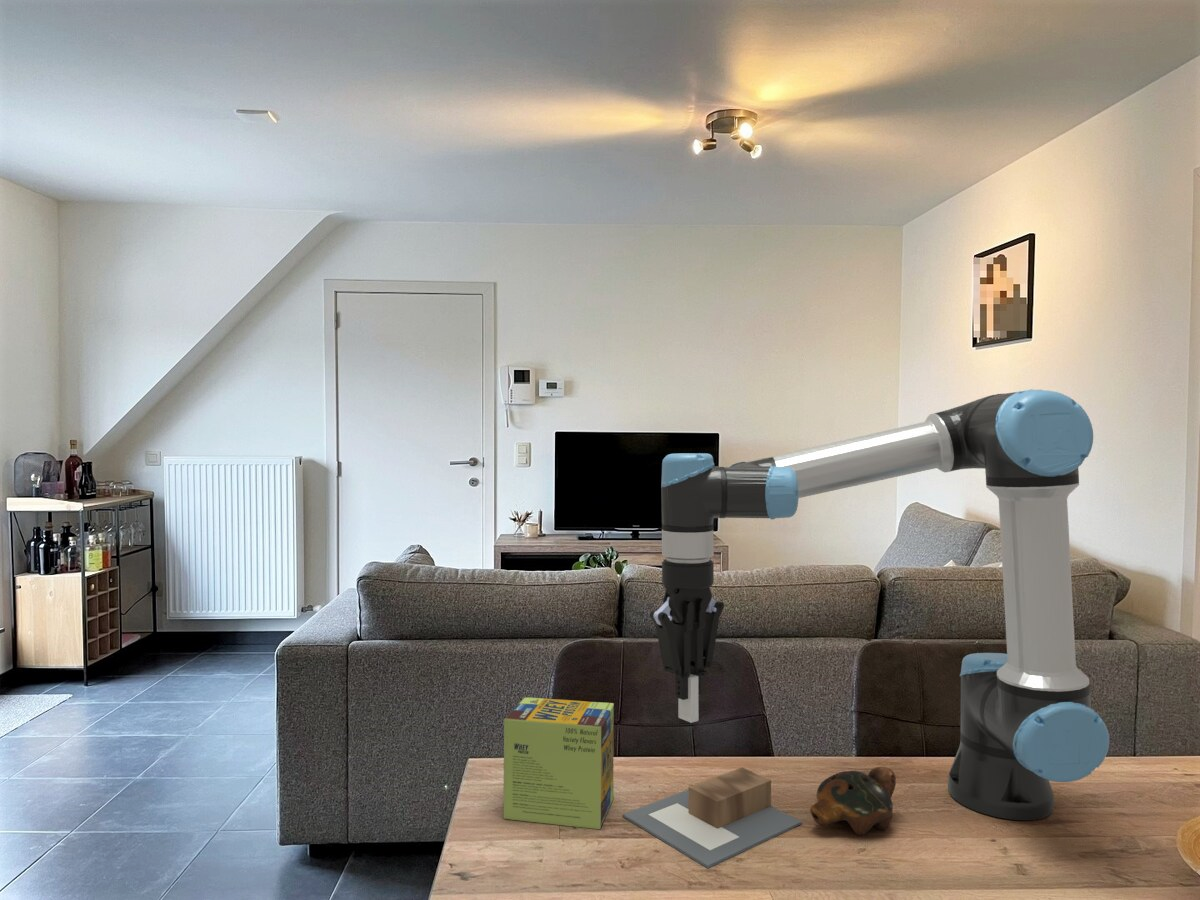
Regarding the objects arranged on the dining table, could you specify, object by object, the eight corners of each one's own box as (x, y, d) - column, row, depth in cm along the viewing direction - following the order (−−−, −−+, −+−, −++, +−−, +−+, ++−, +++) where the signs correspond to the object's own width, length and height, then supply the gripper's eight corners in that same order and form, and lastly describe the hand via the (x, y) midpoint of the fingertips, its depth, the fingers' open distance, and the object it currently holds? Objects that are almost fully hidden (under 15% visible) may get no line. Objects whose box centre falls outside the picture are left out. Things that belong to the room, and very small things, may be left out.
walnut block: (717, 828, 116) (771, 805, 123) (717, 801, 116) (771, 780, 123) (688, 813, 120) (742, 791, 128) (688, 787, 120) (742, 767, 128)
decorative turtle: (916, 826, 118) (917, 774, 117) (843, 859, 110) (843, 805, 110) (865, 796, 126) (865, 748, 125) (794, 825, 119) (794, 775, 118)
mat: (802, 823, 118) (802, 820, 118) (707, 868, 106) (707, 865, 106) (714, 781, 132) (714, 779, 132) (622, 816, 120) (622, 813, 120)
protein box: (602, 830, 116) (602, 726, 116) (502, 820, 119) (502, 718, 119) (615, 798, 126) (615, 702, 126) (522, 789, 129) (522, 695, 129)
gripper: (701, 551, 122) (702, 702, 123) (636, 560, 114) (637, 721, 115) (737, 557, 116) (738, 716, 117) (672, 566, 108) (672, 737, 109)
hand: (688, 718), depth 116 cm, fingers closed
